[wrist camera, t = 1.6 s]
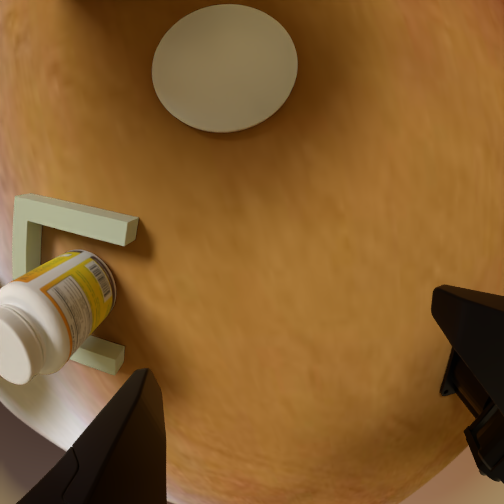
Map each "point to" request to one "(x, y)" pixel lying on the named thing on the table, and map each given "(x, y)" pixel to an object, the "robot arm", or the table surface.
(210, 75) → the coaster
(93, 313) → the supplement bottle
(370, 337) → the table surface
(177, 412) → the table surface
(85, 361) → the pale green u-shaped bracket
